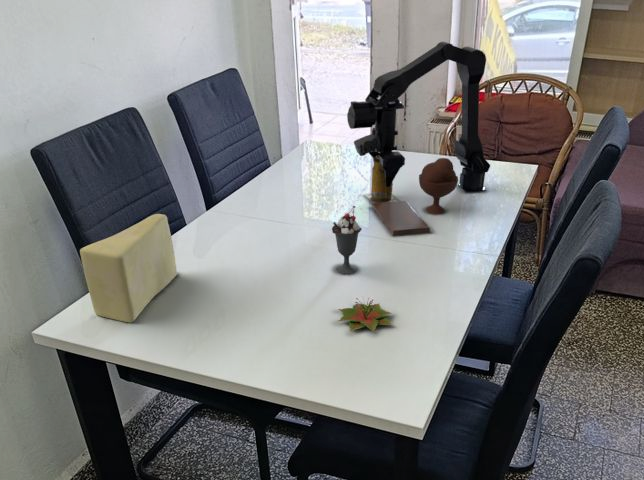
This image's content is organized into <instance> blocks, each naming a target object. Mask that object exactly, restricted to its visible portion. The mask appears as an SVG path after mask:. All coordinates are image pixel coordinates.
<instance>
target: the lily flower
mask: <svg viewBox="0 0 644 480" xmlns="http://www.w3.org/2000/svg"><path fill="white" fill-rule="evenodd" d="M361 297H364V296H363V295H362V296H361ZM355 299H356V300H357V301H354V303H355V304H354V305H353V306H352V307H346V308H344V307H343V308H337V310H338V311H339V312H340V313H341V314H343V315H342V316H341V317H340V319H339V320H338V322H348V327H349V332H353V331H355V330H358V329H362V328H368V329H369V330H371V331H372V332H373V333H375V331H376V329H377V326H384V325H385V326H389V325H390V326H394V324H393V323H392V322H391V321H390V319H389V318H387V317H385V316H388V315H392V314H393V313H392V312H390V311H388V310H387V311H386V310H385V309H383V308H381V305H380V303H374V302H373V301H374V299H371V300H370V298H367V303H366V304H365V303H363V302H361V300H359V299H358V297H355ZM362 299H363V301H365V298H362ZM369 300H370V301H369ZM368 302H369V303H368ZM373 303H374V304H373Z"/></svg>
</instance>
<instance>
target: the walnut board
mask: <svg viewBox="0 0 644 480" xmlns="http://www.w3.org/2000/svg"><path fill="white" fill-rule="evenodd" d="M371 209H372V211H373V212H374V213H375V215H376V216H377V217H378V218H379V220H380V221H381V222H382V224H383V225H384V226H385V228H386V229H387V230H388V231H389V233H390V234H391V235H392V237H397V236H407V235H409V236H410V235H418V234H419V235H421V234H429V233H430V229H431V227H430V226H429V225H428V223H426V221H425V220H424V219H423V218H422V217H421V216H420V215H419V214H418V212H416V210H414V208H413V207H412V206H411V205H410V204H409V203H408V202H407V201H406V200H397V201H394V202H381V203H373V202H372V203H371Z"/></svg>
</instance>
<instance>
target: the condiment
mask: <svg viewBox="0 0 644 480" xmlns="http://www.w3.org/2000/svg"><path fill="white" fill-rule="evenodd" d="M379 158H380V155H379V156H376V157H375V158H374V162H373V165H372V168H371V189H370V190H371V191H370V194H365V196H366V198H368V199H369V200H370V201H371V202H372V203H381V202H394V201H398V200H397V199H396V198H395V197H393V189H394V187H393V185H394V181H393V182H392V184H391V186H390V187H386V184H385V174H384V169H383V168H382V167H381V166H380V160H379Z"/></svg>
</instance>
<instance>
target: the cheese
mask: <svg viewBox="0 0 644 480" xmlns="http://www.w3.org/2000/svg"><path fill="white" fill-rule="evenodd" d="M79 254H80V259H81V263H82V269H83V273H84V278H85V282H86V286H87V289H88V293H89V296H90V300H91V304H92V308H93V311H94V314H95V315H97V316H99V317H103V318H107V319H111V320H116V321H120V322H124V323H133V322H134V321H135V320H137V318H138V317H139V316H140V314H141V313H142V311H143V310H144V309H145V308H146V307H147V305H148V304H149V303H150V302H151V301H152V299H153V298H155V296H156V295H158V294H159V293H160V292H161V291H162V290H163V289H165V288H166V287H167V286H168V285H169V284H170V283H171V282H172V281H173V280H174V279H175V278H176V276H177V273H178V272H177V271H178V270H177V262H176V261H177V260H176V254H175V248H174V242H173V238H172V234H171V230H170V225H169V221H168V216H167V215H166V214H161V213H155V214H152V215H150V216H148V217H145V218H144V219H143V220H141V221H140V222H137V223H136V224H133V225H131V226H130V227H128V228H126V229H123V230H122V231H119V232H118V233H115V234H114V235H111V236H109V237H107V238H104V239H101V240H98V241H96V242H93V243H91V244H88V245H85V246H84V247H82V248H80V249H79Z"/></svg>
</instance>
